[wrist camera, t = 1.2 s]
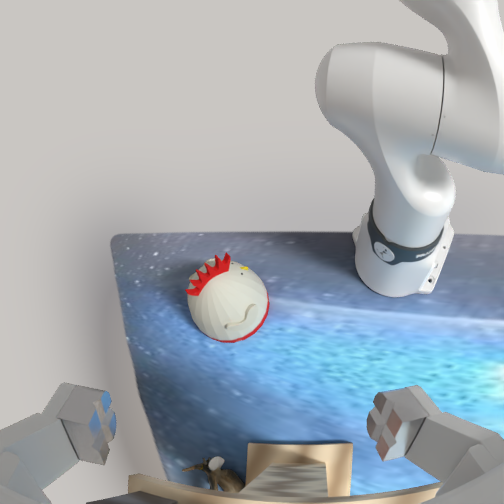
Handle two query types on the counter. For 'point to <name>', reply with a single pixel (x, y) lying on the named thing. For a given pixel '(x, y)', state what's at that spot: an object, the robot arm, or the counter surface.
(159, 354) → the counter surface
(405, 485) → the counter surface
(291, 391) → the counter surface
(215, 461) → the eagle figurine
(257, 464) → the shelf
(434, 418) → the robot arm
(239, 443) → the counter surface
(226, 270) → the kitchen timer
